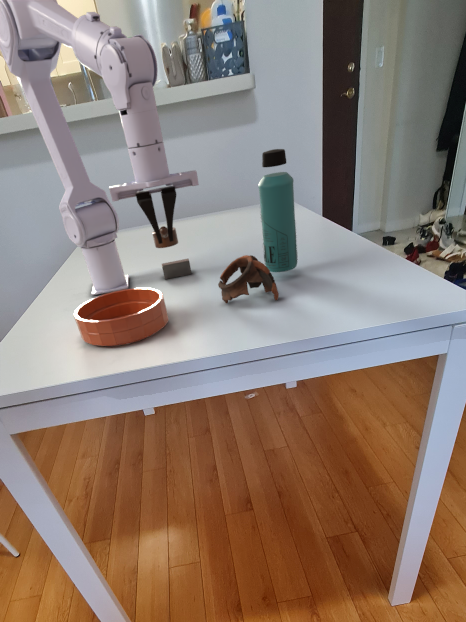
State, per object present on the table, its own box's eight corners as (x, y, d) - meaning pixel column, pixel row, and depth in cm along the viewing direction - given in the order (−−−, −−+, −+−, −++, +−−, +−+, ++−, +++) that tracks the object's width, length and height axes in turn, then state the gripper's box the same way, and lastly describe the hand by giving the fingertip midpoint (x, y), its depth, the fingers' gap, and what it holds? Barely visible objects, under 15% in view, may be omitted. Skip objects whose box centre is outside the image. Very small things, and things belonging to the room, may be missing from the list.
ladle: (155, 244, 95) (147, 212, 91) (177, 240, 95) (171, 207, 91) (157, 267, 80) (148, 229, 77) (184, 262, 80) (176, 224, 77)
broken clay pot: (283, 308, 78) (256, 270, 72) (238, 334, 83) (210, 300, 77) (282, 268, 84) (257, 230, 79) (240, 295, 89) (214, 261, 84)
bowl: (87, 323, 85) (78, 298, 82) (167, 307, 85) (161, 282, 82) (79, 356, 73) (68, 328, 70) (171, 337, 74) (164, 309, 71)
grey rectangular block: (164, 277, 100) (161, 263, 99) (191, 271, 101) (188, 258, 99) (164, 279, 99) (161, 265, 97) (191, 274, 99) (189, 260, 97)
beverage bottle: (304, 270, 90) (300, 144, 77) (288, 281, 86) (281, 151, 73) (275, 269, 93) (266, 147, 80) (259, 280, 90) (247, 154, 76)
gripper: (98, 155, 68) (125, 254, 77) (192, 137, 69) (208, 238, 78) (101, 152, 73) (126, 245, 82) (188, 135, 74) (204, 230, 83)
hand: (165, 241), depth 80 cm, fingers closed on ladle
